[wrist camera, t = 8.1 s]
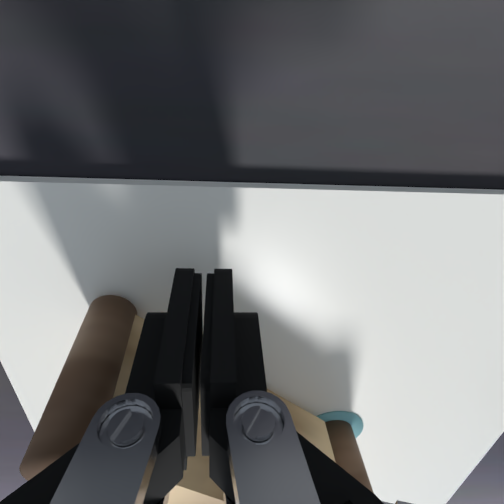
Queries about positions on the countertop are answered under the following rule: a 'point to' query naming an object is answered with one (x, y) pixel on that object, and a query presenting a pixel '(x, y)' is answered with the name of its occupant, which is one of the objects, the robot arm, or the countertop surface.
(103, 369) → the fence panel
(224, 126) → the countertop surface
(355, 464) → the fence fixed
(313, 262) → the card
